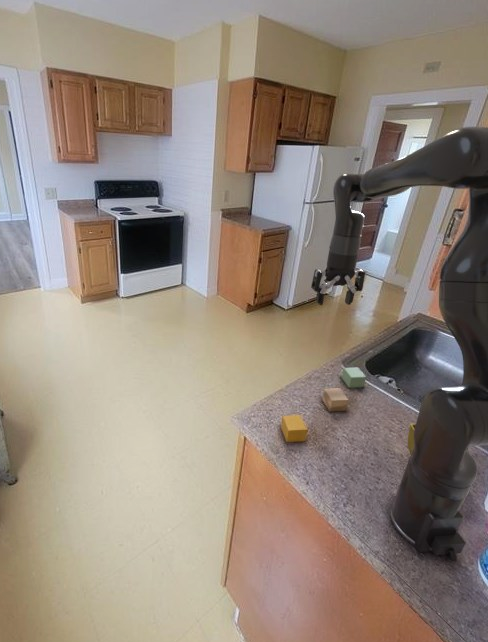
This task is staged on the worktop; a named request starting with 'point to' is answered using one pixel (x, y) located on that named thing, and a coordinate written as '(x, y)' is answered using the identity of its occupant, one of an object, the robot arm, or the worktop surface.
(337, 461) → the worktop surface
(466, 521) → the worktop surface
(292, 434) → the mustard block
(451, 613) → the worktop surface
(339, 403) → the maple block
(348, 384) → the sage block
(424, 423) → the robot arm
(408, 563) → the worktop surface
